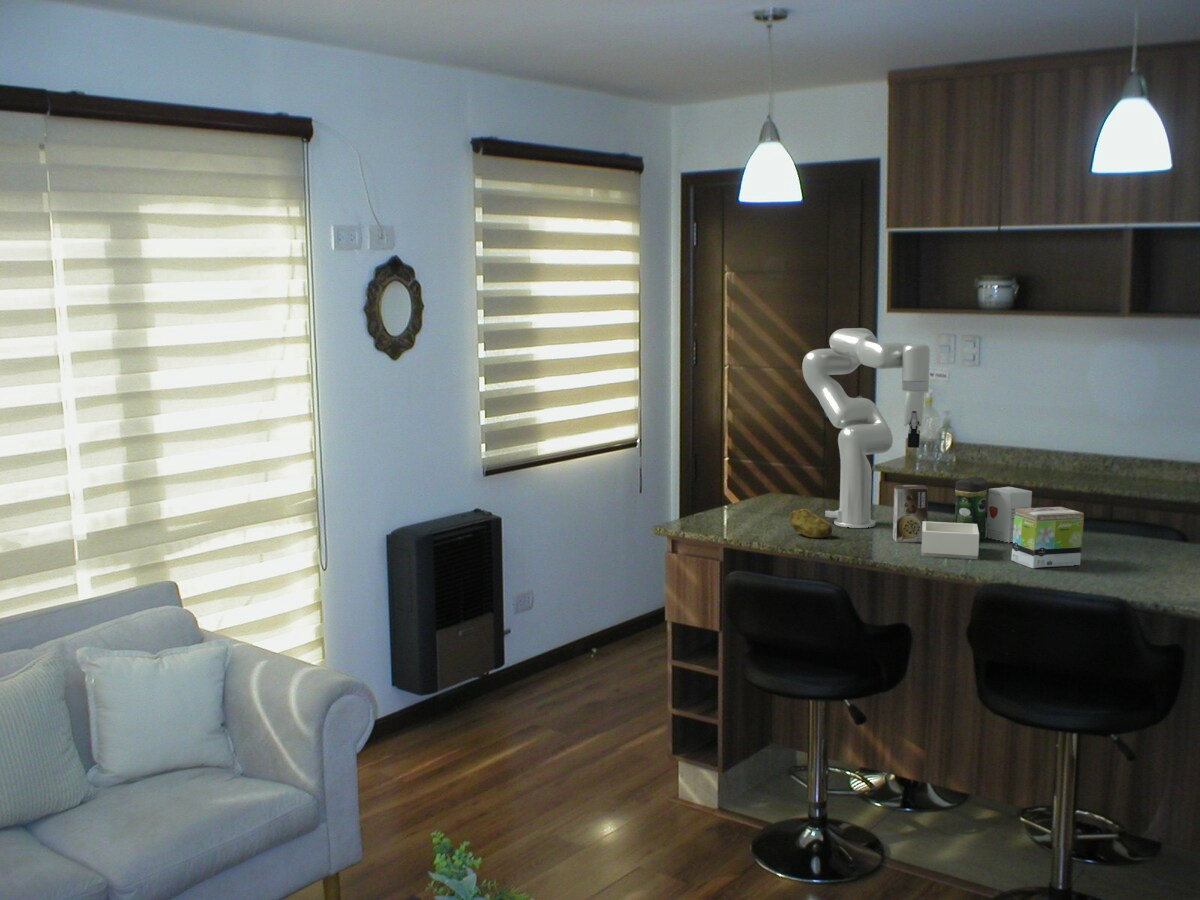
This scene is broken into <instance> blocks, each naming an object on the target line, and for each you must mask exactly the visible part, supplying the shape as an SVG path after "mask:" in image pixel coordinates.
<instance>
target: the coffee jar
mask: <svg viewBox="0 0 1200 900" xmlns="http://www.w3.org/2000/svg"><path fill="white" fill-rule="evenodd" d="M954 487H955V490H954V492H955V513H954V523H968V524H977V527H978V531H979V541H983V539H985V538H986V533H987V517H986V516H987V514H986V504H987V502H986V501H987V492H988V481H987V480H986V479H985V478H984V477H981V476H980V477H978V476H970V477H966V478H962V479H959V480H957V481H956V482H955V486H954Z"/></svg>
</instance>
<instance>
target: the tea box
mask: <svg viewBox="0 0 1200 900" xmlns="http://www.w3.org/2000/svg"><path fill="white" fill-rule="evenodd" d="M1084 515H1085V513H1084V512H1081V511H1077V510H1075V509H1070V508H1066V507H1063V506H1048V507H1031V508H1020V509H1015V517H1014V530H1013V543H1011V544H1012V548H1011V556H1010V557H1011V558H1010V559H1011V561H1012V562H1015V563H1017V564H1019V565H1022V566H1023V567H1024V566H1026V567H1028V568H1031V569H1037V568H1038V569H1039V568H1051V567H1053V568H1054V567H1056V568H1057V567H1075V566H1074V565H1079V566H1081V560H1082V559H1081V558H1082V549H1083V548H1082V547H1083V533H1084V520H1085V516H1084Z"/></svg>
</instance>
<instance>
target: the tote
mask: <svg viewBox="0 0 1200 900" xmlns="http://www.w3.org/2000/svg"><path fill="white" fill-rule="evenodd" d="M979 543H980V540H979V531H978V527H977V524H968V523H955V522H943V521H942V522H941V521H928V520H927V521H922V542H921V551H920V553H921V555H920V556H921V557H929V558H946V559H965V560H966V559H967V560H979V548H980V547H979V546H980V545H979Z"/></svg>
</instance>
